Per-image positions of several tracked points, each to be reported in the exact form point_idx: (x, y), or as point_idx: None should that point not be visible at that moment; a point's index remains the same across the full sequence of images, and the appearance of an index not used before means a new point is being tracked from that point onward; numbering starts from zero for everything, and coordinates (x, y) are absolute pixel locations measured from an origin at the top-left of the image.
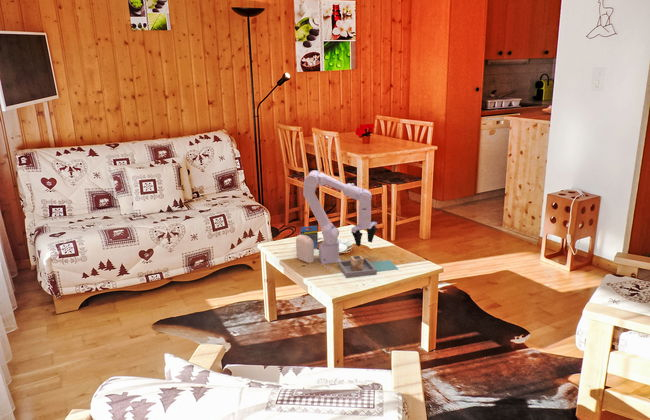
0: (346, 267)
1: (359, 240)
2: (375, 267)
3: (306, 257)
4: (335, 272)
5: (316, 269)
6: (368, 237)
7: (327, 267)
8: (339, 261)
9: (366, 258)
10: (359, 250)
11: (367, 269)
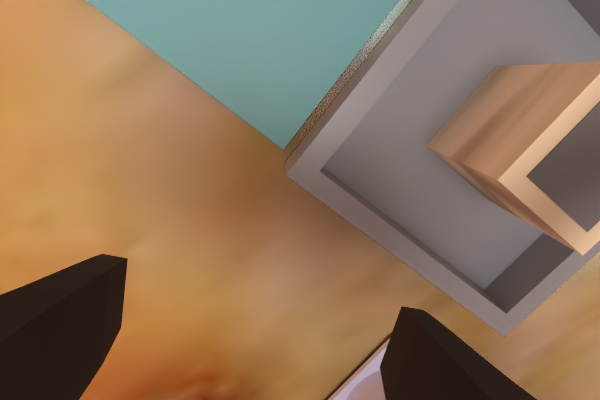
0: (485, 240)
1: (523, 391)
2: (349, 6)
3: None
4: (595, 255)
5: (594, 381)
6: (74, 385)
7: (530, 350)
8: (498, 327)
9: (291, 174)
10: None
11: (436, 53)
